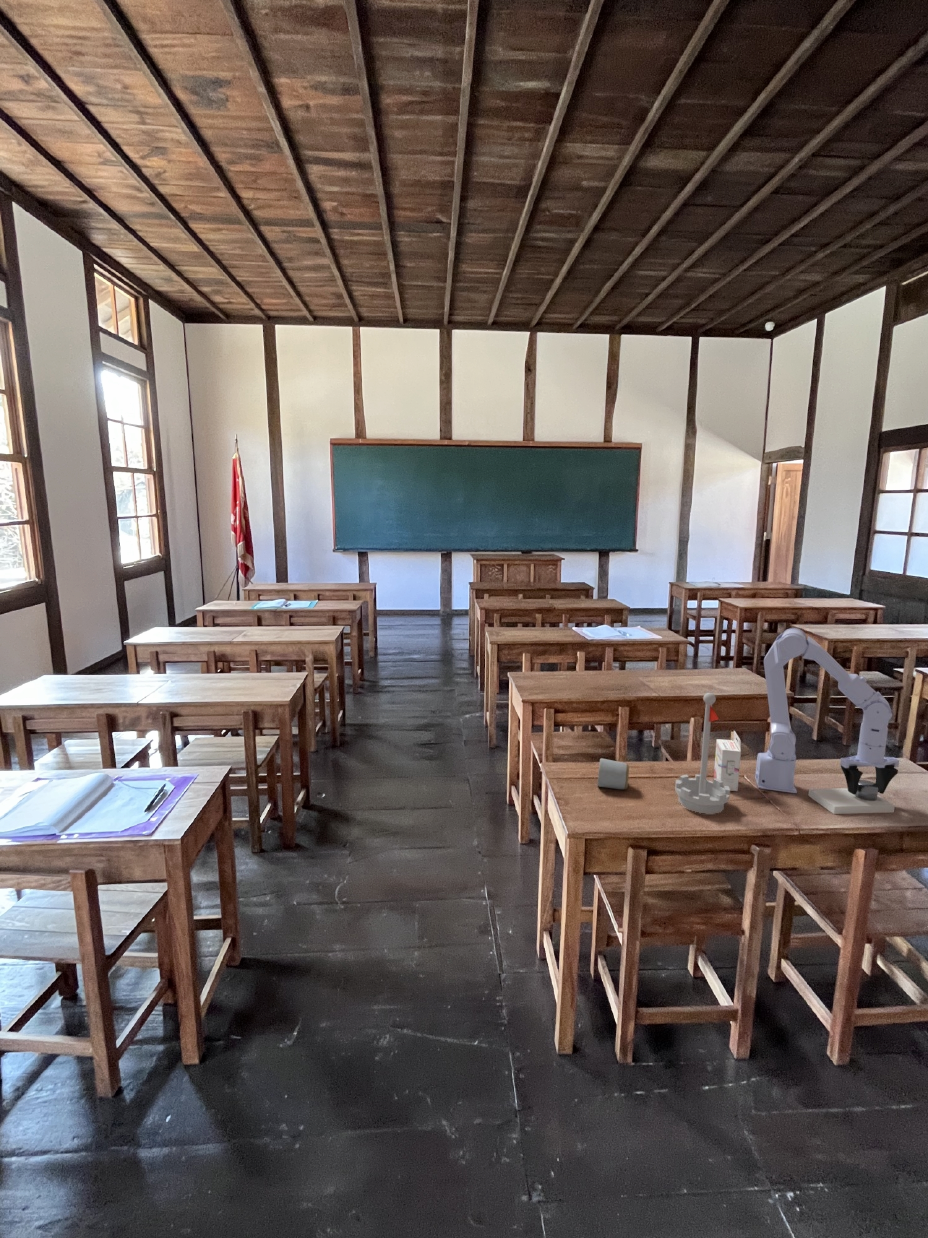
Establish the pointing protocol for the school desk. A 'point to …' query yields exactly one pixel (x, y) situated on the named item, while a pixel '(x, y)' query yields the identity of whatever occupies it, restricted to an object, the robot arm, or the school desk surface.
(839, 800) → the board
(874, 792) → the peg
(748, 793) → the school desk surface
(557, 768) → the school desk surface
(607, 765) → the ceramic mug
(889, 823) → the school desk surface
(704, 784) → the flag stand
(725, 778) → the ink cartridge box
